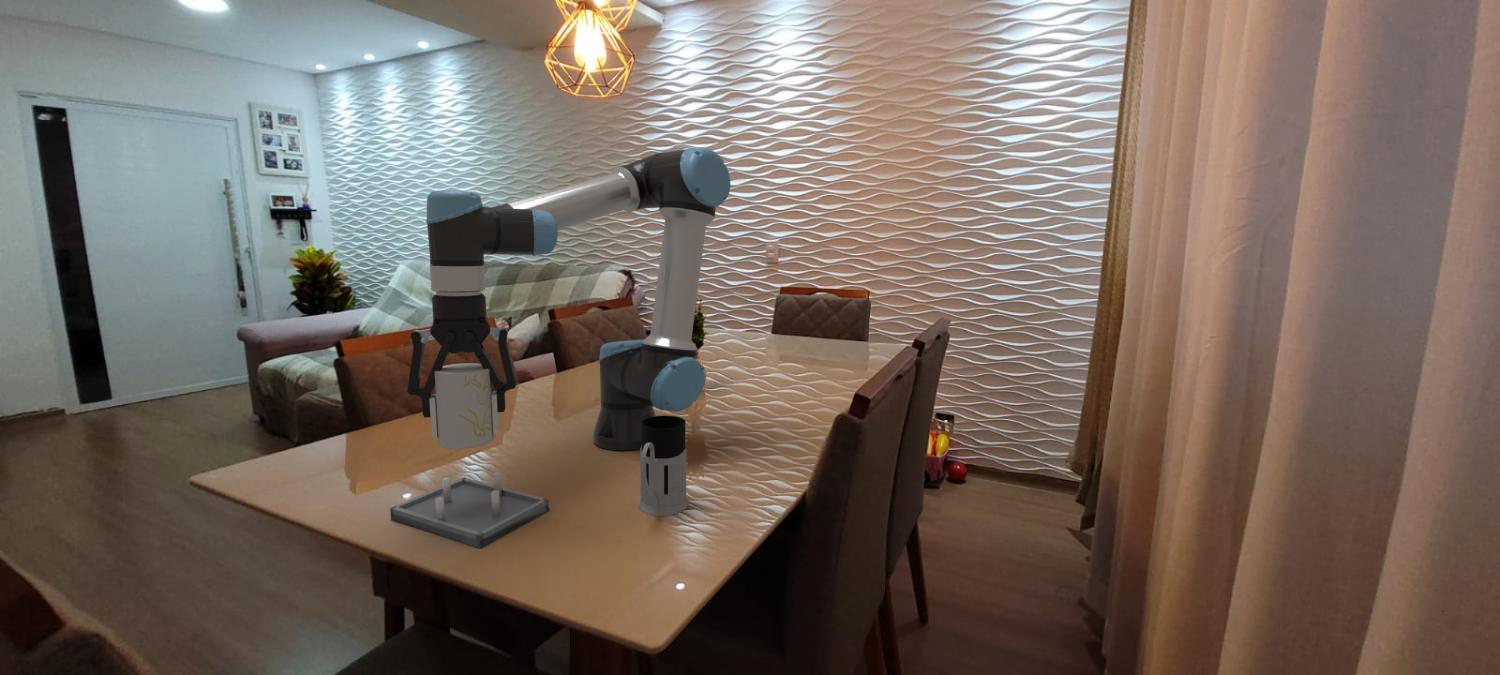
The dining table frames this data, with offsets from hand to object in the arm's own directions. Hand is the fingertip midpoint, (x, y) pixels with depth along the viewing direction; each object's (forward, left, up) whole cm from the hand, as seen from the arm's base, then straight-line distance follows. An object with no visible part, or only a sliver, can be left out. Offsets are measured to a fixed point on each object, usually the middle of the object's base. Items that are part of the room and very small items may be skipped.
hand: (466, 433), depth 95 cm
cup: (0, 0, -1) cm, 1 cm away
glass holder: (-30, +6, -14) cm, 34 cm away
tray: (0, 0, -14) cm, 14 cm away
